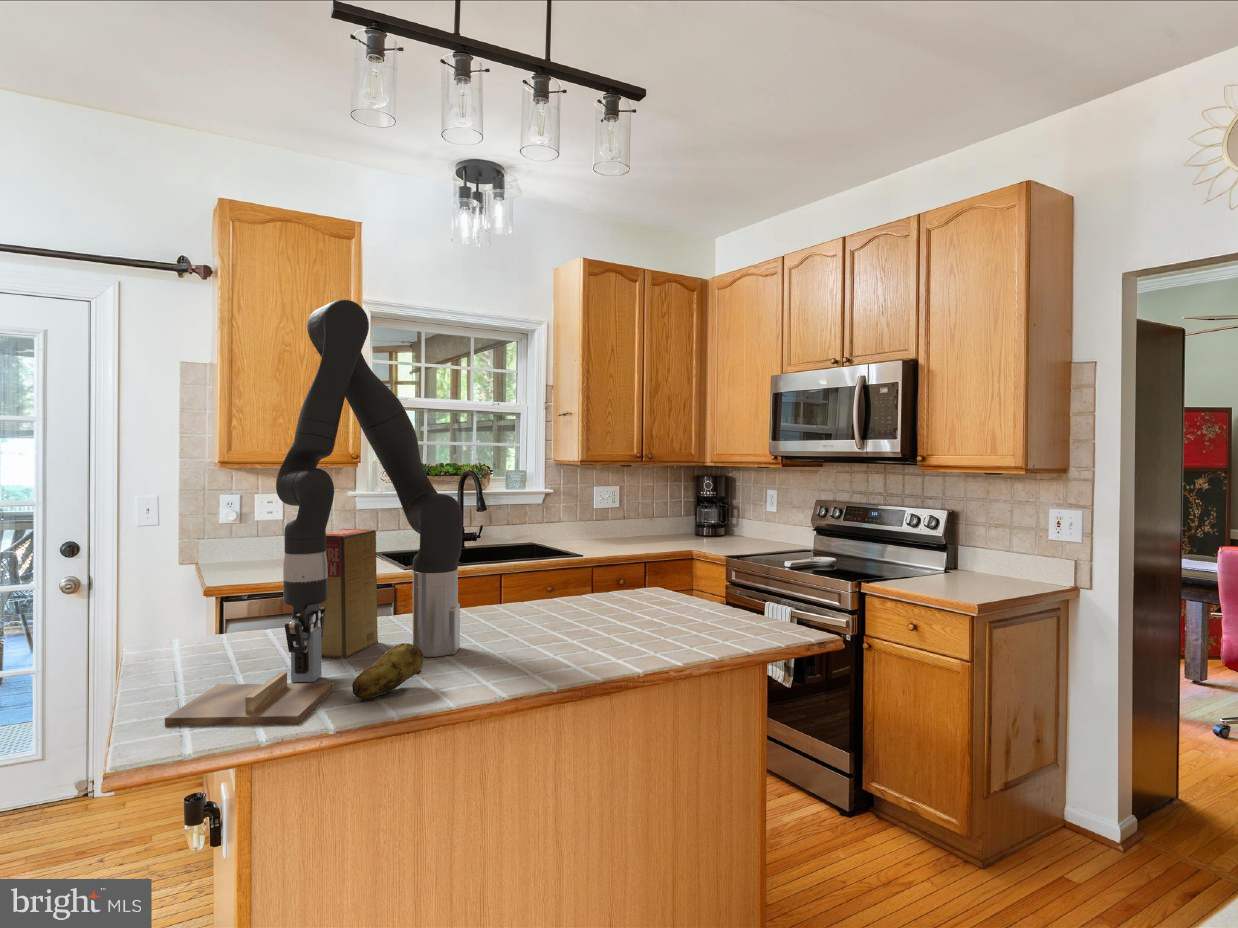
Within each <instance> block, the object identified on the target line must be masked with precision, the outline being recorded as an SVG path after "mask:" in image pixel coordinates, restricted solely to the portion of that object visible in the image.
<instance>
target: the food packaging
mask: <svg viewBox="0 0 1238 928" xmlns="http://www.w3.org/2000/svg"><path fill="white" fill-rule="evenodd" d="M326 556H327V562H328V599H327V600H326V601H325V602H323V603H319V607H325V609H326V611H325V620H324V630H323V638H322V639H321V658H333V659H335V658H336V659H346V658H349V657H350V656H353V655H354V654H356V653H358V652H361V651H363V650H364V649H367V648H369V647H371V646H373V645H375V644H377V643H379V639H378V638H379V637H378V586H377V584H378V582H377V531H376V529H370V528H369V529H368V528H365V529H364V528H363V529H362V528H340V529H334V530H329V531H326Z"/></svg>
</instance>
